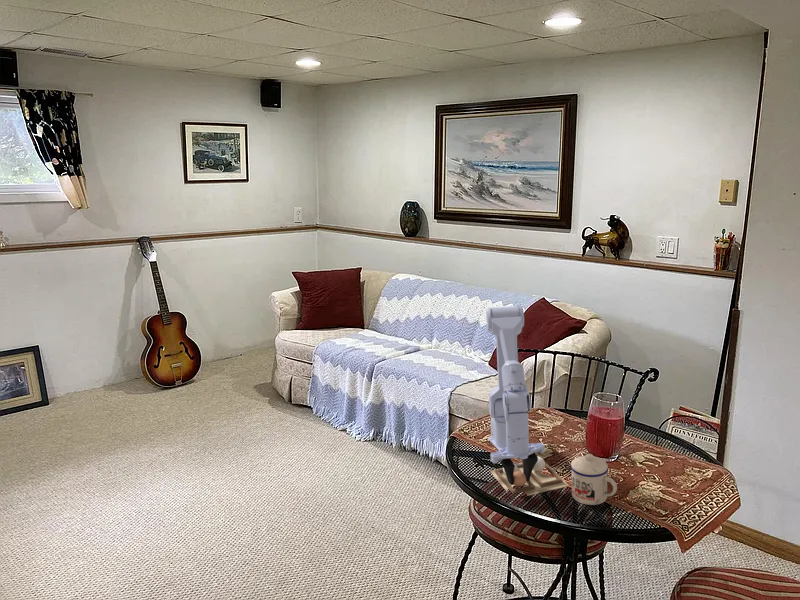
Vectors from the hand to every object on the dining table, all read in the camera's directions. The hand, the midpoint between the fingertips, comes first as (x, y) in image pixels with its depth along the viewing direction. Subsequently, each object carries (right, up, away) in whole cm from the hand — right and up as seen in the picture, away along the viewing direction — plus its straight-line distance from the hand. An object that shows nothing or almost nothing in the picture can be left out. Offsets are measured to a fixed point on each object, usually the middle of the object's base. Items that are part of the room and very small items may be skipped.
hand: (518, 481), depth 175 cm
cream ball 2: (+6, +1, +7) cm, 10 cm away
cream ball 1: (-1, 0, +5) cm, 5 cm away
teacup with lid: (+18, -3, -7) cm, 19 cm away
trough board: (+3, -1, +4) cm, 5 cm away
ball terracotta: (0, -1, 0) cm, 1 cm away
